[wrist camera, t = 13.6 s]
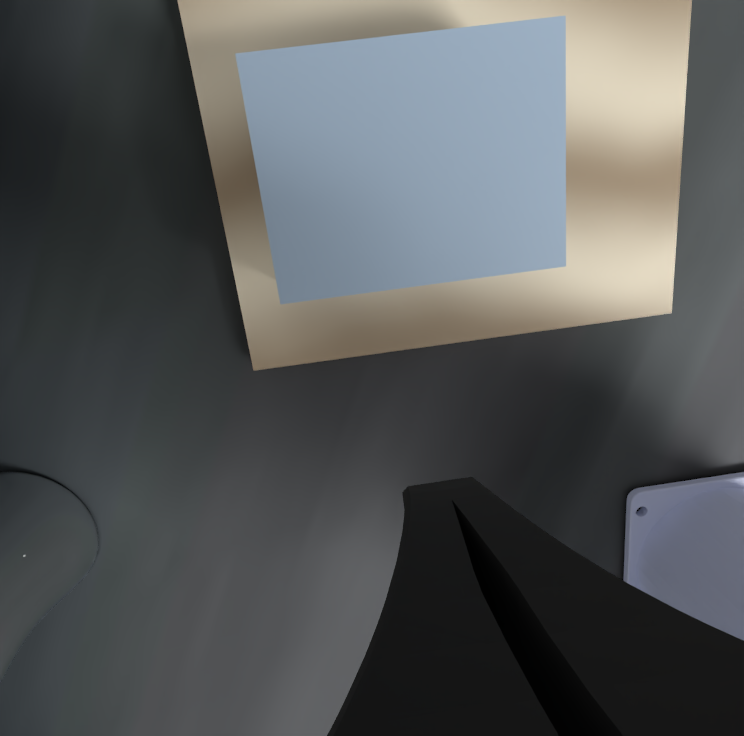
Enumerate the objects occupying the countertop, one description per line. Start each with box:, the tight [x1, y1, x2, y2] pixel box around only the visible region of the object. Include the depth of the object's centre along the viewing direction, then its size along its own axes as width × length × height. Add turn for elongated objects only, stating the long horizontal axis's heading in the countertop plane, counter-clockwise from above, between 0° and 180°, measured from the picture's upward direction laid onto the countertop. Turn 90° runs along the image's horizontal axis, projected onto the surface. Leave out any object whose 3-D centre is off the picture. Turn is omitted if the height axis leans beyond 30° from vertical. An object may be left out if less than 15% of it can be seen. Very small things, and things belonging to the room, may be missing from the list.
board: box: [177, 0, 692, 371], centre depth 16 cm, size 12×16×1 cm
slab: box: [235, 16, 566, 304], centre depth 14 cm, size 6×4×8 cm
